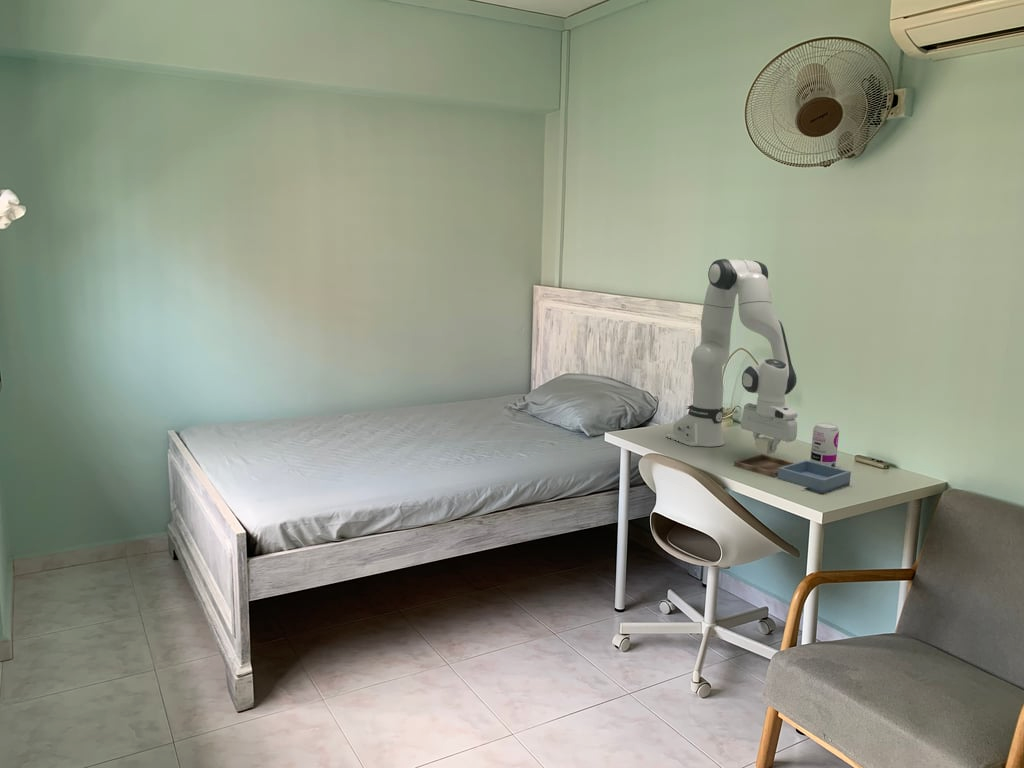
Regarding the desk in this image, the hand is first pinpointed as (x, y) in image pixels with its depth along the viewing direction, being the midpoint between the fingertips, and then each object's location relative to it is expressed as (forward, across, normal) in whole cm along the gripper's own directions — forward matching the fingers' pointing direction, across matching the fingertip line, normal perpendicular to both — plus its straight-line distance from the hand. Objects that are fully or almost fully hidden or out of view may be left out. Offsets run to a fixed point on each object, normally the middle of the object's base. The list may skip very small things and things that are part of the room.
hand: (765, 448), depth 269 cm
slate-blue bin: (+7, +18, +2) cm, 20 cm away
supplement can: (+7, +10, +20) cm, 24 cm away
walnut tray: (+8, +1, +1) cm, 8 cm away
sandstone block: (+1, 0, 0) cm, 1 cm away
